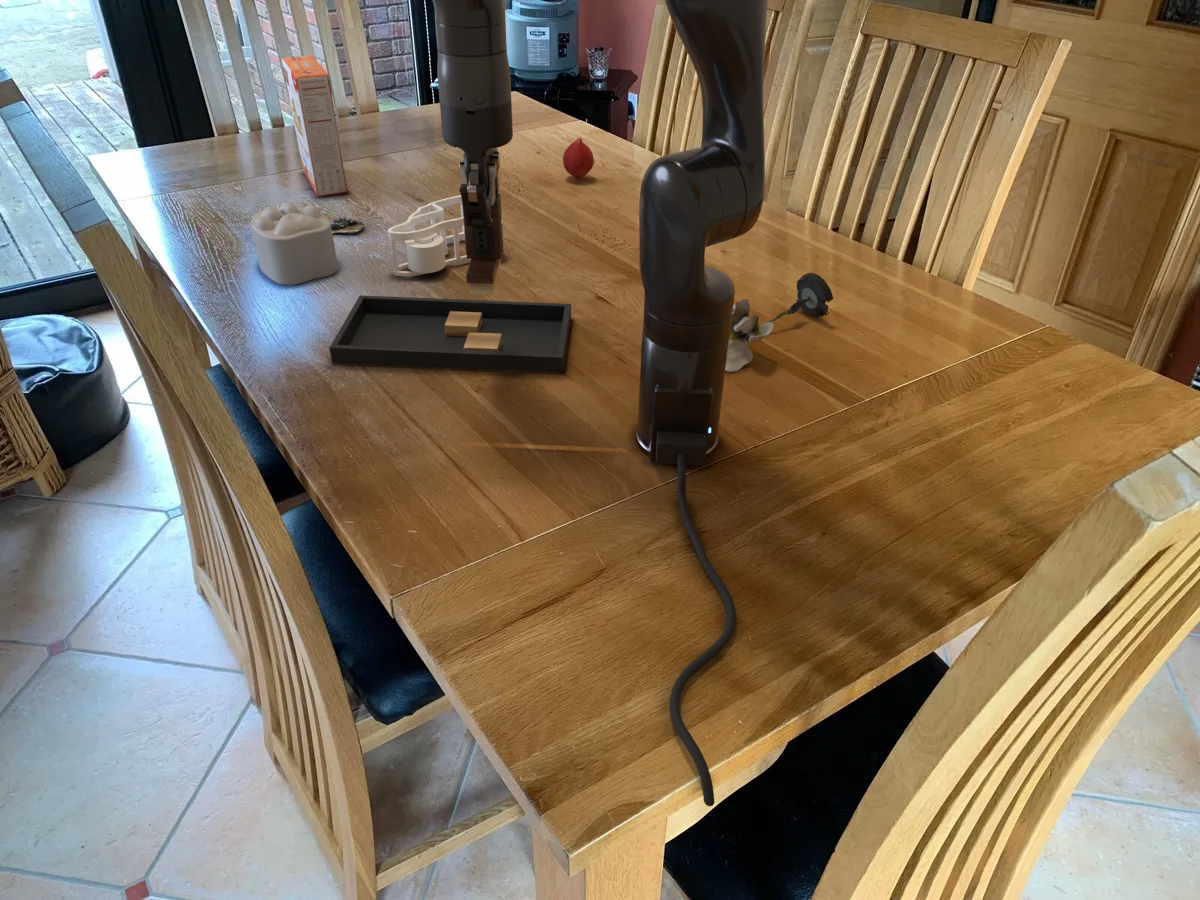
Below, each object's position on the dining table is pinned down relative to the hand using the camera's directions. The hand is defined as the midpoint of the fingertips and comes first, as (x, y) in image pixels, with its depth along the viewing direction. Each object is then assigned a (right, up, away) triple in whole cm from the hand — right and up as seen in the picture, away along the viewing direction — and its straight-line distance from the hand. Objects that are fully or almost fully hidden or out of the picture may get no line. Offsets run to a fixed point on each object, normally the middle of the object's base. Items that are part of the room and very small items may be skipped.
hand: (485, 249), depth 104 cm
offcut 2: (-2, -10, +13) cm, 17 cm away
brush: (0, -3, +2) cm, 3 cm away
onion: (+9, +28, +67) cm, 74 cm away
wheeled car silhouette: (-11, +7, +37) cm, 39 cm away
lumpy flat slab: (-30, +13, +46) cm, 56 cm away
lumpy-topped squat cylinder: (-34, +5, +35) cm, 49 cm away
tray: (-6, -9, +16) cm, 19 cm away
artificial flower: (+36, -9, +18) cm, 41 cm away
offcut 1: (-5, -7, +18) cm, 20 cm away
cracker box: (-38, +26, +63) cm, 78 cm away
